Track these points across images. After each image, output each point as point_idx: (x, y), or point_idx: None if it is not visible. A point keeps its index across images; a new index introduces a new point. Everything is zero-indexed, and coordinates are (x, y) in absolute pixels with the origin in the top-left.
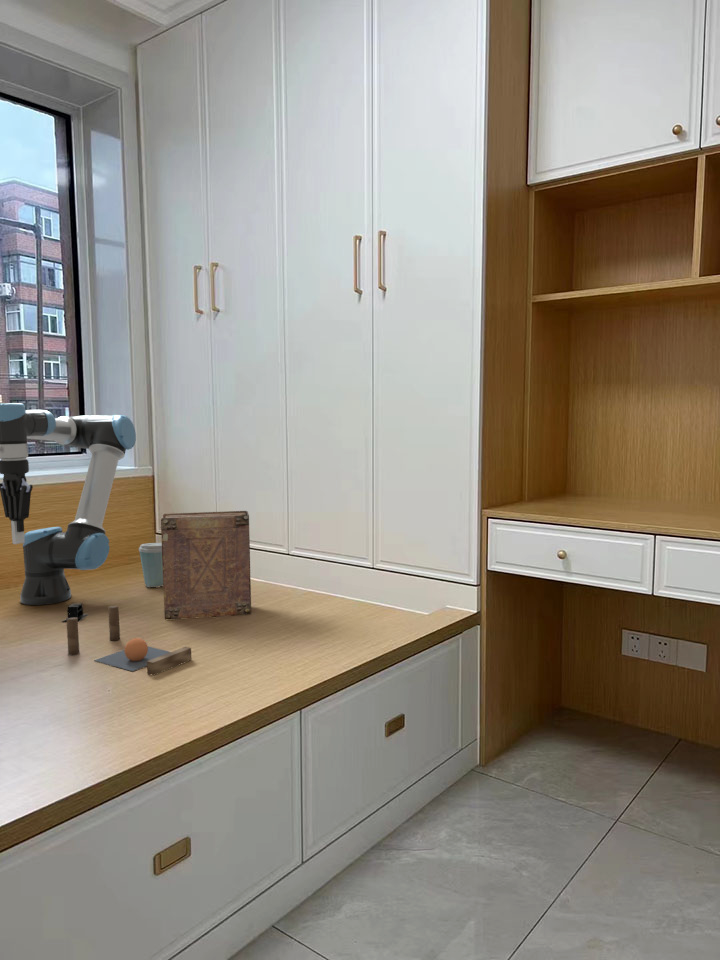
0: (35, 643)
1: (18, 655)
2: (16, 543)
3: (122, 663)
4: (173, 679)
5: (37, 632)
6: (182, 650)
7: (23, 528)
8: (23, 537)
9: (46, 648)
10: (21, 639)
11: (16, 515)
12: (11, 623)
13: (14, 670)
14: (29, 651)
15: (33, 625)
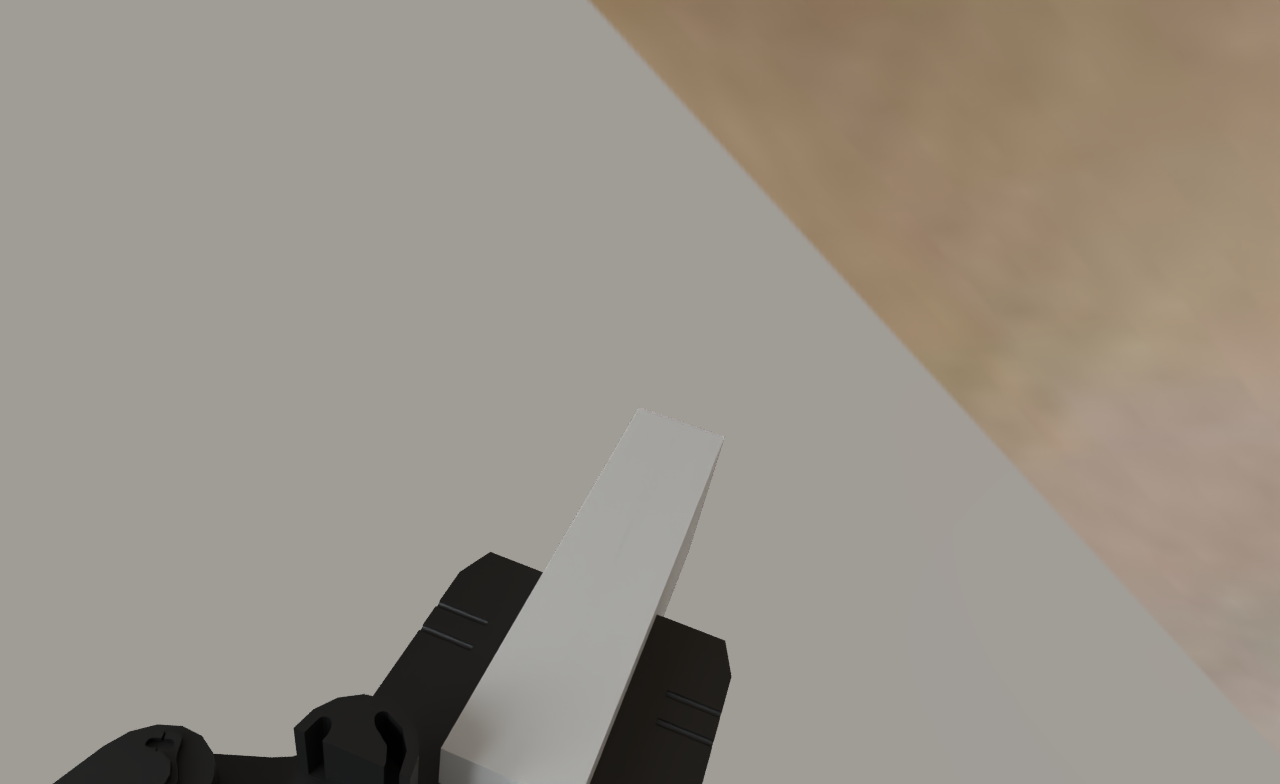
0: (1137, 383)
1: (1154, 549)
2: (689, 547)
3: None
4: None
5: (1008, 198)
6: None
7: (721, 709)
8: (697, 505)
9: (1274, 448)
10: (990, 335)
11: None
12: (679, 72)
13: (1264, 702)
14: (1184, 497)
15: (867, 66)
